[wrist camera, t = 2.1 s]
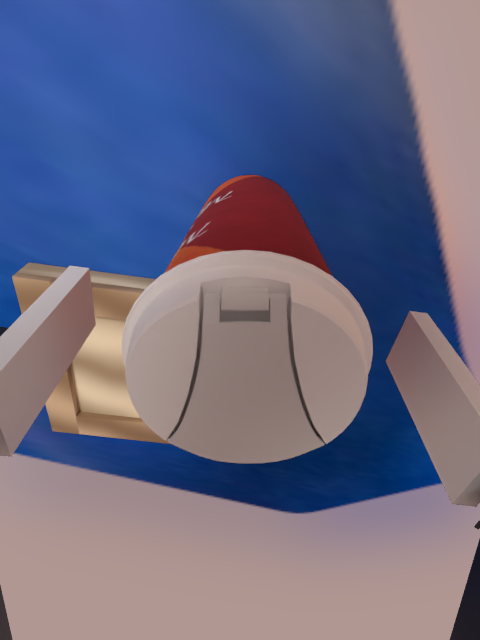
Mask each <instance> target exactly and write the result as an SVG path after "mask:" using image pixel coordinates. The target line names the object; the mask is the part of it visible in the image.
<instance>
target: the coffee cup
mask: <svg viewBox="0 0 480 640" xmlns="http://www.w3.org/2000/svg"><path fill="white" fill-rule="evenodd" d="M122 355H123V362H124V366H125V369H126V371H125V378H126V384H127V390H128V393H129V396H130V398H131V401H132V404H133V406H134V408H135V410H136V411H137V413H138V414H139V416H140V418H141V419H142V420H143V421H144V422H145V423H146V425H147V426H148V427H149V428H150V429H151V430H152V431H153V432H155V433H156V434H157V435H158V436H159V437H160V438H162V439H163V440H165V441H166V440H167V438H168V440H167V442H169V443H171V444H173V445H175V446H177V447H179V448H181V449H184V450H186V451H188V452H191V453H193V454H196V455H198V456H201V457H204V458H208V459H212V460H216V461H222V462H229V463H245V464H247V463H268V462H277V461H281V460H285V459H290V458H293V457H296V456H299V455H301V454H304V453H307V452H309V451H312V450H314V449H316V448H319V447H321V446H323V445H324V442H325V443H326V444H327V443H329V442H330V441H332V440H333V439H334V438H336V437H337V436H338V435H339V434H341V433H342V432H343V431H344V430H345V429H346V428H347V426H348V425H349V424H350V423H351V422H352V421H353V419H354V418H355V416H356V414H357V413H358V411H359V409H360V407H361V405H362V402H363V399H364V397H365V394H366V388H367V381H368V374H369V371H370V368H371V363H372V356H373V340H372V334H371V330H370V326H369V323H368V320H367V318H366V316H365V314H364V312H363V310H362V308H361V306H360V304H359V303H358V302H357V300H356V299H355V298H354V297H353V295H352V294H351V293H350V292H349V290H348V289H347V288H345V287H344V286H343V285H342V284H341V283H340V282H338V281H337V280H336V279H335V278H334V277H333V276H332V274H331V272H330V270H329V268H328V267H327V265H326V263H325V261H324V259H323V257H322V255H321V253H320V251H319V249H318V247H317V245H316V243H315V241H314V239H313V237H312V236H311V234H310V232H309V230H308V228H307V226H306V224H305V222H304V220H303V218H302V217H301V215H300V213H299V211H298V209H297V207H296V206H295V204H294V202H293V201H292V199H291V198H290V196H289V195H288V194H287V192H286V191H285V190H284V189H283V188H282V187H281V186H280V185H278V184H277V183H276V182H274V181H272V180H270V179H268V178H265V177H262V176H257V175H243V176H238V177H235V178H232V179H230V180H228V181H226V182H225V183H223V184H222V185H220V186H219V187H218V188H217V189H216V190H215V191H214V192H213V193H212V195H211V196H210V197H209V199H208V200H207V202H206V203H205V205H204V206H203V208H202V210H201V211H200V213H199V215H198V216H197V218H196V220H195V221H194V223H193V225H192V227H191V228H190V230H189V232H188V233H187V235H186V237H185V238H184V240H183V242H182V244H181V245H180V247H179V249H178V251H177V252H176V254H175V256H174V258H173V259H172V261H171V263H170V264H169V266H168V268H167V270H166V271H165V273H164V274H162V275H160V276H159V277H158V278H157V279H156V280H155V281H154V282H152V283H151V284H150V285H149V286H148V287H147V288H146V289H145V290H144V291H143V292H142V294H141V295H140V296H139V297H138V299H137V300H136V301H135V303H134V305H133V307H132V309H131V310H130V312H129V314H128V316H127V318H126V322H125V326H124V329H123V333H122Z"/></svg>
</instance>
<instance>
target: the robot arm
mask: <svg viewBox="0 0 480 640" xmlns="http://www.w3.org/2000/svg"><path fill="white" fill-rule="evenodd" d="M95 325H96V321H95V313H94V304H93V295H92V286H91V277H90V268H84V267H76V266H69V267H68V268H67V269H66V270H65V271H64V272H63V273H62V274H61V275H60V276H59V277H58V278H57V279H56V280H55V281H54V282H53V283H52V284H51V285H50V287H49V288H48V289H47V290H46V291H45V292H44V293H43V294H42V295H41V296H40V297H39V298H38V299H37V300H36V301H35V302H34V303H33V304H32V305H31V306H30V307H29V308H28V309H27V310H26V311H25V312H24V313H23V314H22V315H21V316H20V317H19V318H18V319H17V320H16V321H15V322H14V323H13V324H12V325H11V326H10V327H9V328H6V327H0V455H1V456H12V455H13V453H14V451H15V450H16V448H17V447H18V445H19V444H20V442H21V441H22V439H23V437H24V436H25V434H26V433H27V431H28V430H29V428H30V427H31V425H32V423H33V422H34V420H35V419H36V417H37V416H38V414H39V412H40V411H41V409H42V408H43V406H44V405H45V403H46V402H47V400H48V398H49V397H50V395H51V394H52V392H53V391H54V389H55V388H56V386H57V384H58V383H59V381H60V380H61V378H62V377H63V375H64V374H65V372H66V370H67V369H68V367H69V366H70V364H71V363H72V361H73V360H74V358H75V356H76V355H77V353H78V352H79V350H80V349H81V347H82V345H83V344H84V342H85V341H86V339H87V338H88V336H89V335H90V333H91V331H92V330H93V328H94V327H95ZM386 363H387V365H388V367H389V370H390V372H391V374H392V376H393V378H394V380H395V382H396V385H397V387H398V389H399V391H400V393H401V395H402V398H403V400H404V402H405V404H406V406H407V408H408V410H409V413H410V415H411V417H412V419H413V421H414V423H415V425H416V428H417V430H418V432H419V434H420V436H421V438H422V441H423V443H424V445H425V447H426V449H427V451H428V453H429V456H430V458H431V460H432V462H433V464H434V466H435V469H436V471H437V473H438V475H439V477H440V479H441V481H442V484H443V486H444V488H445V490H446V492H447V494H448V497H449V499H450V501H451V503H452V504H457V505H466V506H475V507H476V506H477V505H478V504H479V503H480V384H479V383H478V381H477V380H476V379H475V377H474V376H473V375H472V373H471V372H470V371H469V369H468V368H467V366H466V365H465V364H464V362H463V361H462V360H461V358H460V357H459V356H458V354H457V353H456V352H455V350H454V349H453V347H452V346H451V345H450V343H449V342H448V341H447V339H446V338H445V337H444V335H443V334H442V333H441V331H440V330H439V328H438V327H437V326H436V324H435V323H434V322H433V320H432V319H431V318H430V316H429V315H428V313H421V312H414V311H409V313H408V315H407V317H406V319H405V321H404V324H403V326H402V328H401V330H400V332H399V334H398V336H397V338H396V340H395V342H394V345H393V347H392V349H391V351H390V353H389V355H388V357H387V359H386ZM475 528H477V529H479V528H480V521H479V522H478V523H477V524H476V525H475ZM0 640H12V635H11V631H10V627H9V622H8V618H7V613H6V609H5V604H4V600H3V595H2V591H1V586H0ZM450 640H480V540H479V543H478V547H477V550H476V553H475V557H474V560H473V563H472V567H471V570H470V573H469V577H468V580H467V584H466V587H465V590H464V594H463V597H462V601H461V604H460V607H459V611H458V614H457V617H456V621H455V624H454V628H453V631H452V634H451V637H450Z"/></svg>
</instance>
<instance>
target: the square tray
mask: <svg viewBox="0 0 480 640" xmlns="http://www.w3.org/2000/svg"><path fill="white" fill-rule="evenodd" d="M66 269H67V268H66V267H59V266H51V265H43V264H36V263H27V264H26V265H25V266H24V267H23V268H22V269H20V270H19V271H18V272H17V273H16V274H15V275H13V276H12V278H13V282H14V286H15V290H16V294H17V297H18V301H19V305H20V309H21V313H22V314H23V313H24V312H25V311H26V310H27V309H28V308H29V307H30V306H31V305H32V304H33V303H34V302H35V301H36V300H37V299H38V298H39V297H40V296H41V295H42V294H43V293H44V292H45V291H46V290H47V289H48V288H49V287H50V285H51V284H52V283H53V282H54V281H55V280H56V279H57V278H58V277H59V276H60V275H61V274H62V273H63V272H64V271H65V270H66ZM90 277H91V286H92V295H93V304H94V313H95V321H96V325H95V327H94V328H93V330H92V331H91V333H90V335H89V336H88V338H87V339H86V341H85V342H84V344H83V345H82V347H81V349H80V350H79V352H78V353H77V355H76V356H75V358H74V360H73V361H72V363H71V364H70V366H69V367H68V369H67V370H66V372H65V374H64V375H63V377H62V378H61V380H60V381H59V383H58V384H57V386H56V388H55V389H54V391H53V392H52V394H51V395H50V397H49V398H48V400H47V402H46V403H45V404H46V408H47V411H48V415H49V419H50V423H51V427H52V430H53V431H57V432H66V433H75V434H84V435H94V436H103V437H112V438H121V439H130V440H140V441H149V442H158V443H167V444H171V443H169V442H167V440H168V438H167V440H166V441H165V440H163V439H162V438H160V437H159V436H158V435H157V434H156V433H155V432H153V431H152V430H151V429H150V428H149V427H148V426H147V425H146V423H145V422H144V421H143V420H142V419H141V418H140V416H139V414H138V413H137V411H136V410H135V408H134V406H133V404H132V401H131V398H130V396H129V393H128V390H127V384H126V378H125V371H126V369H125V366H124V362H123V355H122V333H123V329H124V326H125V322H126V318H127V316H128V314H129V312H130V310H131V309H132V307H133V305H134V303H135V301H136V300H137V299H138V297H139V296H140V295H141V294H142V292H143V291H144V290H145V289H146V288H147V287H148V286H149V285H150V284H151V283H152V282H154V281H155V280H156V279H150V278H142V277H135V276H127V275H120V274H112V273H104V272H97V271H90Z"/></svg>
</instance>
